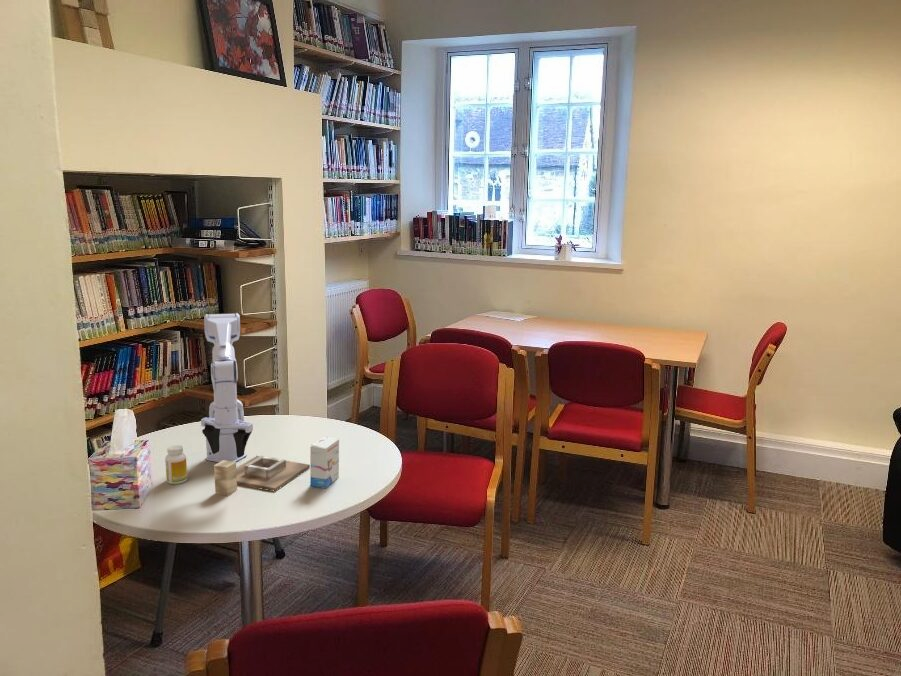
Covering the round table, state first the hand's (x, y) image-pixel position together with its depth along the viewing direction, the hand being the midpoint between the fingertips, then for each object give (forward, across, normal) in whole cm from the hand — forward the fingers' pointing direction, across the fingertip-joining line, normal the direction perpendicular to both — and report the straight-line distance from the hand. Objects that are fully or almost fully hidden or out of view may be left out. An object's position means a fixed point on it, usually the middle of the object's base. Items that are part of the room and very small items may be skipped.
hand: (228, 454), depth 196 cm
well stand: (+10, +3, +13) cm, 17 cm away
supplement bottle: (+11, -18, +1) cm, 20 cm away
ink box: (+11, +21, +14) cm, 28 cm away
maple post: (+10, -1, -1) cm, 11 cm away
